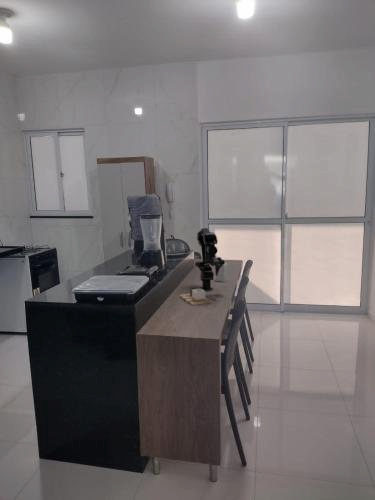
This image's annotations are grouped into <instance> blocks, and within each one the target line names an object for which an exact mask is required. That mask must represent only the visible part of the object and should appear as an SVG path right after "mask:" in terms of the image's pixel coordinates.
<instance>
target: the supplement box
mask: <svg viewBox="0 0 375 500" xmlns="http://www.w3.org/2000/svg"><path fill="white" fill-rule="evenodd" d="M214 276H215V277H214V279H215V282H223V283H225V282H227V281H229V264H228V263H227V262H225V265H223V266H221V267H220V269H219V272H218V275H217V276H216V272H215V271H214Z"/></svg>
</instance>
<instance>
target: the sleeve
mask: <svg viewBox="0 0 375 500" xmlns="http://www.w3.org/2000/svg"><path fill="white" fill-rule="evenodd" d="M193 289H194V290H192V299H193V300H194V301H196V302H199V301H205V297H206V290H203V289H202V288H193Z"/></svg>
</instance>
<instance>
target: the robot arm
mask: <svg viewBox="0 0 375 500" xmlns="http://www.w3.org/2000/svg"><path fill="white" fill-rule="evenodd" d="M196 240H197V243H198V245H199V246H200V249H201V250H200V251H201V259H202V260H201V261H200V260H199V261H196V262H195V263H194V264H195V265H194V266H195V267H196V268H198V269H199V271H200V272H199V273H200V274H199V281H200V282H201V281H202V282H201V283H202V286H200V288H199V289H203V290H204V291H207V290H212V289H213V287H211V285H212V284H211V281H213V280H214V276H215V272H216V276H217V275H218V272H219V269H220V267H221V266H223V265H225V263H226V261H225V260H224V259H222V257H220V256H218V257H216V254H217V253H218V247H216V245H217V244H218V237H217V235H216V234H215V232H211V231H210V230H209V228H206V227H205V228H200V230H199V231H198V232H197V234H196ZM212 267H214V270H215V271H213V268H212Z"/></svg>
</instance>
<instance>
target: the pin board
mask: <svg viewBox="0 0 375 500" xmlns="http://www.w3.org/2000/svg"><path fill="white" fill-rule="evenodd" d="M194 289H195V288H194V287H193V288H189V293H184V294H179V298H180V299H182V300H183V301H185V302H186V303H187V304H189V305H190V306H198V305H199V306H200V305H205V304H210V303H211V304H212V303H213V300H211V299H210V298H208V297H206V296H205V301H199V302H196V301H194V300H193V299H192V290H194Z"/></svg>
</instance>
